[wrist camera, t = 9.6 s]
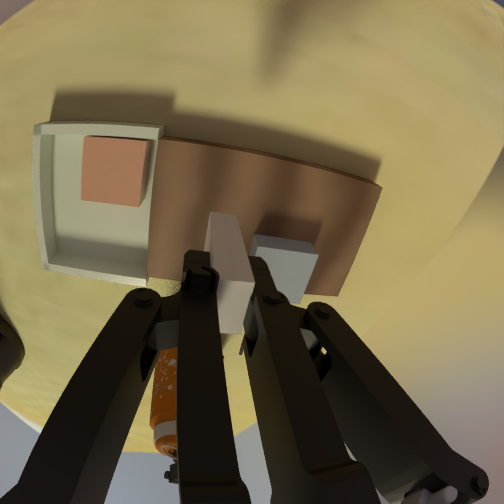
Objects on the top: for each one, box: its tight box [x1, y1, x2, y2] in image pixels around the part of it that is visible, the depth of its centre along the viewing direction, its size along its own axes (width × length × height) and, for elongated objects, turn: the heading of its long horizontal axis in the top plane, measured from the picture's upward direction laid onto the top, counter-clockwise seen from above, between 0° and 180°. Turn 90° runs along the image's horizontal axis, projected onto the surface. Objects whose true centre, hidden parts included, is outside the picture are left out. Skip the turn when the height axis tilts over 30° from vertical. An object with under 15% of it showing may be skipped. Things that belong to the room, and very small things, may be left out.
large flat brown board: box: [147, 136, 382, 296], centre depth 28 cm, size 22×14×2 cm, turn 77°
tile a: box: [81, 135, 152, 207], centre depth 22 cm, size 6×6×2 cm
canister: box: [150, 348, 224, 484], centre depth 28 cm, size 9×11×20 cm
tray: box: [32, 121, 165, 287], centre depth 24 cm, size 13×16×3 cm
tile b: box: [248, 234, 319, 304], centre depth 28 cm, size 6×6×2 cm
